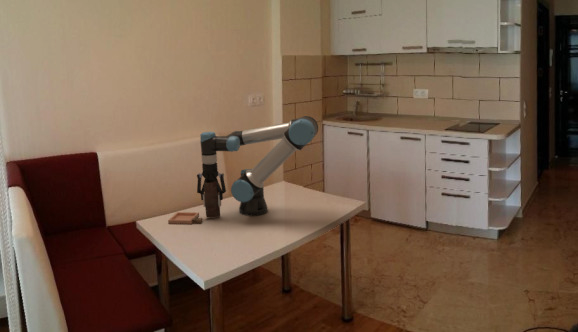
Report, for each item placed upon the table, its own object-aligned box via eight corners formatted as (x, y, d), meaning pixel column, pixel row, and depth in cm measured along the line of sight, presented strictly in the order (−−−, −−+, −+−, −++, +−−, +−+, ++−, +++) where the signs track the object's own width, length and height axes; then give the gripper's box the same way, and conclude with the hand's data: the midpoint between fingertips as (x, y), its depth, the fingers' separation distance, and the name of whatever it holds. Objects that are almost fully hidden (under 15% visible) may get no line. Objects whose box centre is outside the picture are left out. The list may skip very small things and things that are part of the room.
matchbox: (202, 222, 262) (202, 218, 262) (200, 223, 259) (200, 220, 259) (193, 221, 263) (192, 218, 263) (191, 223, 260) (190, 220, 260)
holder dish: (199, 216, 272) (199, 212, 271) (191, 224, 259) (191, 220, 259) (177, 215, 273) (177, 212, 273) (168, 223, 261) (168, 220, 260)
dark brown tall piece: (217, 220, 264) (215, 181, 259) (203, 219, 265) (201, 181, 261) (222, 215, 271) (219, 178, 266) (209, 214, 272) (206, 177, 268)
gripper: (230, 160, 264) (233, 204, 269) (192, 161, 267) (195, 203, 272) (227, 164, 257) (229, 208, 262) (188, 164, 259) (191, 208, 264)
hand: (212, 206), depth 267 cm, fingers closed on dark brown tall piece, 7 cm apart
